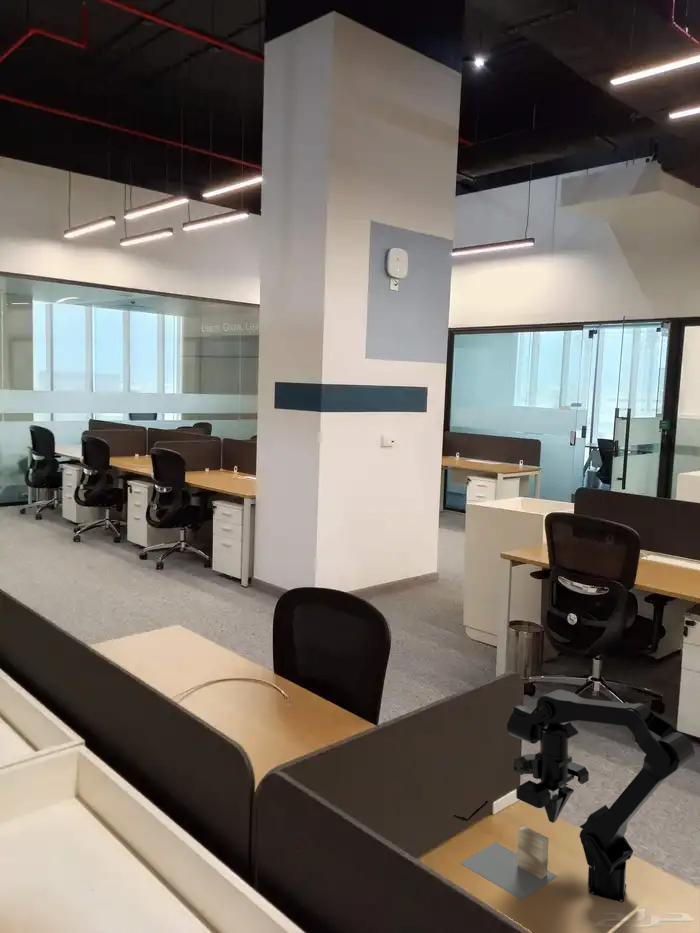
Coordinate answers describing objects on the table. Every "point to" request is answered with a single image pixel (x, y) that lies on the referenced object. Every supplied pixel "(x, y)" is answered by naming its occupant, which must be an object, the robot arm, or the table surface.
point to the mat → (506, 871)
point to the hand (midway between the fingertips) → (552, 821)
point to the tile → (532, 852)
